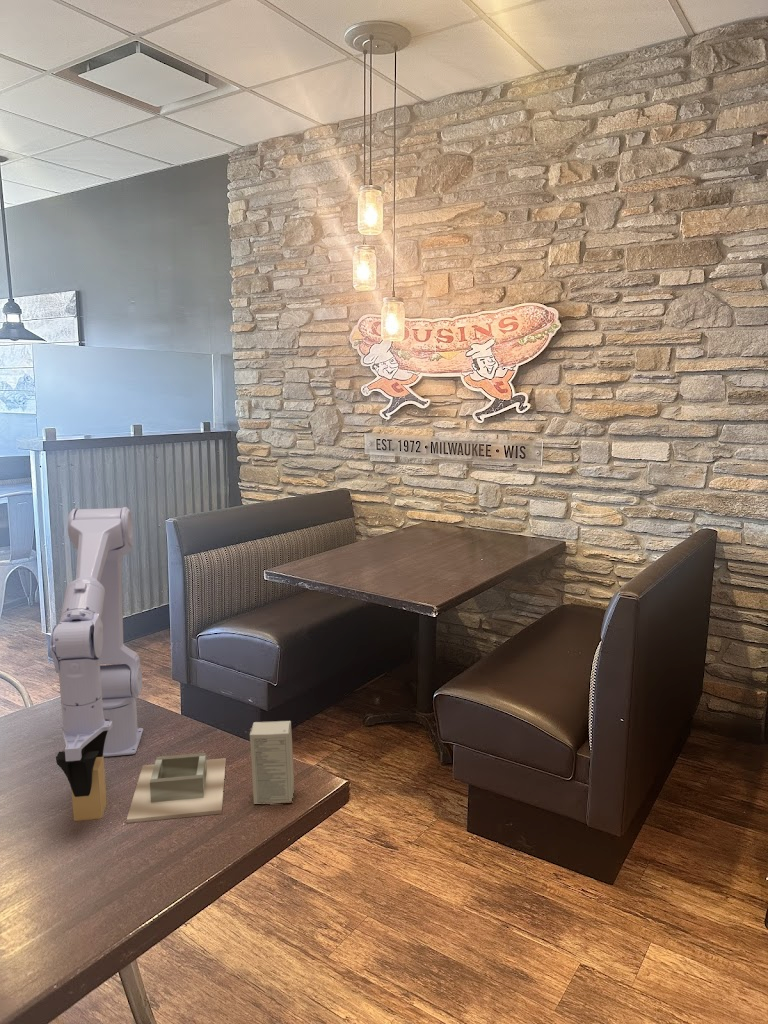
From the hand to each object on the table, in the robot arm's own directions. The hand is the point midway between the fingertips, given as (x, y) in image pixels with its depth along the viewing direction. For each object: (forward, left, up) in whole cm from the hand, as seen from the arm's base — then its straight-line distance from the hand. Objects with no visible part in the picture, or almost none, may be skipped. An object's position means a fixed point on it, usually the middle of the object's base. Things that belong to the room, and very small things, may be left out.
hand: (88, 781), depth 111 cm
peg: (0, 0, -5) cm, 5 cm away
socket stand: (-4, +13, -5) cm, 15 cm away
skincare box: (+1, +28, -5) cm, 29 cm away
